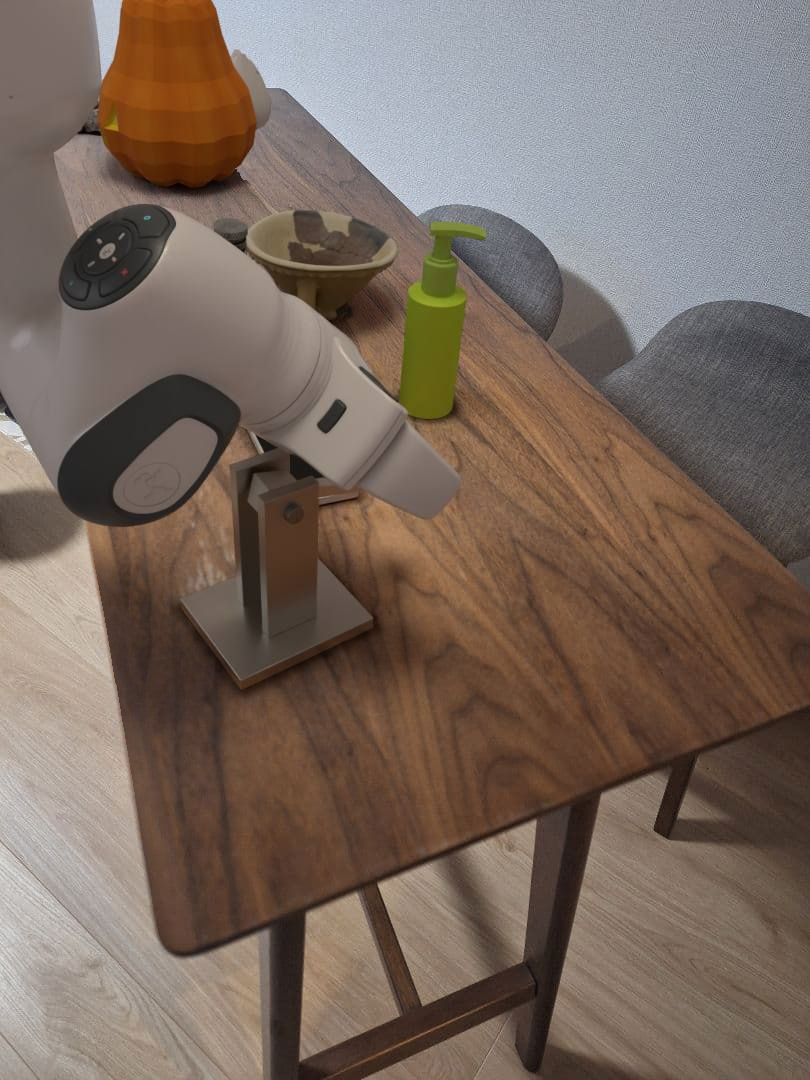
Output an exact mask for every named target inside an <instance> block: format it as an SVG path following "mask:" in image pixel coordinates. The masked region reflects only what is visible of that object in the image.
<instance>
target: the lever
mask: <svg viewBox="0 0 810 1080" xmlns="http://www.w3.org/2000/svg"><path fill="white" fill-rule="evenodd" d="M316 480H317V481H318V482H319V497H325V496H332V495H340V494H347V493H355V492H358V493H362V492H365V491H364V490H362V489H360V488H359V487H357V486H356V485H354V486H353V487H352V488H351V489H350V490H343V489H341V488H339V487H338V486H336V485H334V484H333V483H331V482H330V481H329V480H327V479H326V478H316ZM295 481H297V480H296V479H295V478H294V477H293V476H292V475H291V474H290V473H289V472H288V471H287V470H280V471H270V472H261V473H254V474H253V478H252V483H251V487H250V491H249V496H248V500H247V501H248V502H249V504H250V505H251V506H252V507H253V508H254V509H255V510H256V511H257V512H258V497H257V496H258V495H259V494H262V493H265V492H268V491H270V490H273V489H276V488H279V487H281V486H284V485H287V484H290V483H292V482H295Z"/></svg>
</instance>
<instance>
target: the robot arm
mask: <svg viewBox="0 0 810 1080" xmlns="http://www.w3.org/2000/svg"><path fill="white" fill-rule="evenodd" d="M99 43H100V42H99V34H98V26H97V20H96V13H95V6H94V1H93V0H0V399H1V400H2V402H3V403H4V405H5V406H6V408H7V409H8V410H9V412H11V414H12V416H13V418H14V420H15V421H16V423H17V425H18V427H19V428H20V430H21V431H22V433H23V435H24V437H25V439H26V441H27V443H28V444H29V446H30V448H31V450H32V451H33V453H34V455H35V457H36V459H37V461H38V462H39V463H40V466H41V468H42V470H43V471H44V473H45V475H46V476H47V478H48V480H49V482H50V484H51V485H52V486H53V488H54V490H55V491H56V493H57V494H58V496H59V498H60V499H61V502H62V504H64V506H65V507H66V509H67V510H68V511H70V512H71V513H72V514H73V515H74V516H76V517H77V518H79V519H81V520H83V521H85V522H88V523H92V524H93V525H94V524H95V525H99V526H103V527H110V528H111V527H112V528H130V527H137V526H144V525H147V524H151V523H154V522H158V521H159V520H161V519H164V518H166V517H169V516H170V515H172V514H173V513H175V512H177V511H178V510H179V509H181V508H182V507H183V506H184V505H185V504H187V502H189V501H190V500H191V499H192V498H193V496H194V495H195V494H196V493H198V490H199V489H200V488H201V487H202V485H203V484H204V483H205V481H206V480H207V478H208V477H209V475H211V473H212V471H213V470H214V468H215V467H216V465H217V464H218V462H219V461H220V459H221V458H222V456H223V454H224V453H225V451H226V450H227V448H228V447H229V445H230V443H231V442H232V440H233V438H234V436H235V434H236V432H237V430H238V427H242V428H243V429H245V430H246V431H247V430H249V431H250V432H252V433H254V434H256V435H257V436H259V437H261V438H262V439H264V440H266V441H267V442H269V443H271V444H272V445H274V446H276V447H278V448H279V449H281V450H283V451H285V452H288V453H290V454H292V455H295V456H296V457H298V458H299V459H301V460H302V461H303V462H305V463H306V464H307V465H309V466H310V467H311V468H312V469H314V470H315V471H316V472H317V473H319V474H320V475H321V476H323V477H324V478H326V479H327V480H329V481H330V482H331V483H333V484H334V485H336V486H338V487H339V488H341V489H343V490H350V489H351V488H352V487H353V486H354V485H356V486H357V487H359V488H360V489H362V490H364V491H363V492H365V493H367V494H369V495H370V496H372V497H373V498H376V499H378V500H380V501H382V502H384V503H386V504H388V505H390V506H392V507H394V508H396V509H399V510H400V511H402V512H405V513H407V514H410V515H411V516H414V517H416V518H419V519H421V520H425V521H426V520H427V521H429V520H433V519H434V518H436V517H437V516H438V515H440V513H441V512H442V511H443V510H444V509H445V508H446V507H447V506H448V504H449V503H450V502H451V501H452V499H453V498H454V497H455V496H456V494H457V493H458V491H459V488H460V486H461V483H462V479H461V476H460V475H459V473H458V472H457V471H456V469H454V467H453V466H452V465H451V464H450V463H449V462H448V461H447V460H446V459H445V458H444V457H443V456H442V454H441V453H440V452H439V451H437V449H435V448H434V447H433V446H432V445H431V444H430V443H429V442H428V441H427V440H426V438H424V437H423V435H422V434H421V433H420V432H419V431H417V429H416V428H415V427H414V426H413V425H412V424H411V423H410V422H409V421H408V420H407V418H408V416H409V414H408V412H407V410H406V409H405V408H404V407H403V406H402V405H400V404H399V399H397V398H396V397H395V396H394V395H393V394H392V393H391V392H390V391H389V390H388V389H387V388H386V387H385V386H384V385H383V384H382V382H380V380H379V379H377V377H376V376H375V375H374V374H373V372H372V371H371V368H370V366H369V365H368V363H367V362H366V361H365V359H364V358H363V356H362V355H361V354H360V351H359V349H358V348H357V345H356V344H355V343H354V341H353V340H352V339H351V338H350V337H349V336H348V335H346V334H345V333H344V332H342V331H341V330H340V329H339V328H338V327H336V326H335V325H334V324H332V323H331V322H330V320H326V319H325V318H324V317H323V316H321V315H320V314H319V313H318V312H317V311H315V310H314V309H313V308H311V307H310V306H309V305H308V304H307V303H305V302H304V301H302V300H301V299H299V298H297V297H295V296H293V295H290V294H287V293H284V291H283V290H281V289H279V288H278V285H277V283H276V282H275V281H274V279H273V278H272V277H271V275H270V274H269V273H268V271H267V270H266V269H265V268H264V267H263V266H262V265H261V264H257V263H256V261H255V260H252V258H251V257H250V256H249V255H248V254H247V255H246V254H245V253H243V252H242V251H241V250H239V249H238V248H237V247H235V246H234V245H233V244H231V243H230V242H228V241H227V240H226V239H224V238H223V237H221V236H220V235H219V234H217V233H216V232H214V230H213V229H212V228H210V227H208V226H206V225H205V224H203V223H202V222H200V221H199V220H196V219H194V218H193V217H191V216H189V215H187V214H184V213H182V212H181V211H177V210H175V209H173V208H170V207H166V206H163V205H159V204H152V203H151V204H150V203H138V204H131V205H126V206H124V207H120V208H118V209H116V210H113V211H111V212H109V213H108V214H106V215H104V216H102V217H101V218H99V219H98V220H96V221H95V222H94V223H92V224H91V225H90V226H89V227H88V228H86V230H84V232H82V233H81V235H80V236H79V237H78V234H77V231H76V229H75V225H74V222H73V219H72V216H71V212H70V209H69V205H68V203H67V198H66V196H65V192H64V189H63V187H62V183H61V180H60V176H59V174H58V170H57V166H56V162H55V152H57V151H59V150H60V149H61V148H63V147H65V146H66V144H68V143H69V142H70V141H72V139H73V138H74V137H75V136H76V135H77V134H79V133H80V132H79V131H80V129H81V128H82V127H83V126H84V124H85V123H86V121H87V120H88V118H89V117H90V115H91V113H92V111H93V110H94V107H95V105H96V103H97V101H99V98H100V92H101V89H102V80H103V78H102V65H101V54H100V53H101V52H100V44H99ZM78 132H79V133H78Z"/></svg>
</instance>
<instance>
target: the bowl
mask: <svg viewBox="0 0 810 1080" xmlns="http://www.w3.org/2000/svg"><path fill="white" fill-rule="evenodd" d="M246 239H247V254H248V256H249V257H250V258H251V259H252V260H254V261H255V262H256V263H257V264H259V265H260V266H261V267H262V268H263V269H264V270H265V271H266V272H267V273H268V274H269V275H270V277H271V278H272V279H273V281H274V283H275V284H276V285H277V287H279V288H280V290H281V291H282V292H284V293H287V294H290V295H293V296H295V297H297V298H299V299H301V300H302V301H304V302H305V303H307V304H308V305H309V306H310V307H311V308H313V309H314V310H315V311H317V312H318V313H319V314H320V315H321V316H323V317H324V318H325V319H326V320H328V321H331V320H332V321H333V320H337V319H340V318H341V317H343V316H344V315H345V314H347V313H348V310H349V306H350V305H349V303H350V302H351V301H352V300H353V299H354V298H355V297H356V296H357V295H359V294H360V293H361V292H362V291H363V290H364V289H365V288H366V287H367V285H368V284H369V283H370V282H372V280H373V279H374V278H375V277H376V276H377V275H378V274H381V273H383V271H386V270H387V269H388V268H390V267H392V265H393V264H394V262H395V260H396V258H397V257H398V254H399V247H398V244H397V243H396V241H395V240H394V239H393V238H392V237H391V236H390V235H389V234H387V233H386V232H385V231H383V230H382V229H380V228H379V227H377V226H375V225H373V224H371V223H370V222H367V221H364V220H362V219H360V218H356V217H353V216H348V215H346V214H341V213H338V212H333V211H323V210H304V209H293V210H292V209H291V210H286V211H281V212H277V213H272V214H269V215H267V216H265V217H263V218H262V219H259V220H258V221H256V222H255V223H253V224H252V225H251V226H250V227H249V228H248V234H247V236H246Z"/></svg>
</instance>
